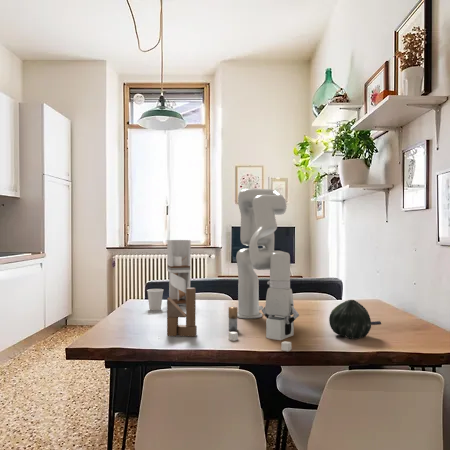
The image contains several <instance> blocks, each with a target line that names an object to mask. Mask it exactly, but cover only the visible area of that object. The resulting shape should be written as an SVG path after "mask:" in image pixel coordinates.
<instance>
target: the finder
mask: <svg viewBox="0 0 450 450" xmlns="http://www.w3.org/2000/svg"><path fill="white" fill-rule="evenodd" d="M291 317H293V315H291ZM294 321H295V320H294ZM294 321H293V323H291V333H290V334H288V335H285V324H286V320H285V317H282V316H273V317H269V318H268V319H267V318H266V323H265V325H266V327H265V328H266V330H265V332H266V333H265V334H266V337H265V338H266V339H271V340H277V341H282V340H285V339H287V338H290V337H292V336H294V333H295V332H294V330H295V329H294V326H295V325H294Z"/></svg>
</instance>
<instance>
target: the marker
mask: <svg viewBox="0 0 450 450" xmlns="http://www.w3.org/2000/svg"><path fill="white" fill-rule="evenodd" d="M280 343H281V345H280V346H281V349H280V350H281V351H284V352H290V351H292V341H286V340H285V341H282V342H280Z"/></svg>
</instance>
